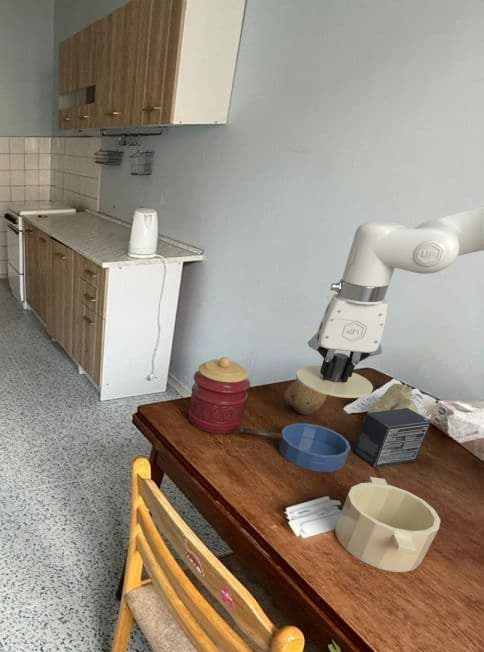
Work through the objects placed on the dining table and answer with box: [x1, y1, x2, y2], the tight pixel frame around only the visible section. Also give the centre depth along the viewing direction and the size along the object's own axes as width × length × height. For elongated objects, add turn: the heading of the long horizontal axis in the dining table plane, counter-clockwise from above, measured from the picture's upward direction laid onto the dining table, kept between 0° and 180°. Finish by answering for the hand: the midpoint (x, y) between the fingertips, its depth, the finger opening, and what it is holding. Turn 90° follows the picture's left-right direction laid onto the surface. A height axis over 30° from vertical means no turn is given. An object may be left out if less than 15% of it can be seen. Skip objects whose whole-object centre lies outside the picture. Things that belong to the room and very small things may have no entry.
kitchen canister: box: [187, 356, 251, 435], centre depth 116 cm, size 13×13×18 cm
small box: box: [352, 408, 433, 468], centre depth 103 cm, size 11×6×10 cm, turn 100°
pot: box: [334, 476, 442, 573], centre depth 81 cm, size 13×18×8 cm
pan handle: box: [237, 426, 282, 441], centre depth 109 cm, size 10×2×2 cm, turn 70°
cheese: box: [363, 382, 419, 421], centre depth 115 cm, size 15×7×15 cm
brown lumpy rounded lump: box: [284, 379, 328, 416], centre depth 120 cm, size 9×9×10 cm
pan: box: [277, 422, 352, 473], centre depth 106 cm, size 13×13×4 cm
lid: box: [295, 352, 374, 399], centre depth 97 cm, size 14×14×7 cm
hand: (334, 377), depth 98 cm, fingers closed on lid, 2 cm apart
